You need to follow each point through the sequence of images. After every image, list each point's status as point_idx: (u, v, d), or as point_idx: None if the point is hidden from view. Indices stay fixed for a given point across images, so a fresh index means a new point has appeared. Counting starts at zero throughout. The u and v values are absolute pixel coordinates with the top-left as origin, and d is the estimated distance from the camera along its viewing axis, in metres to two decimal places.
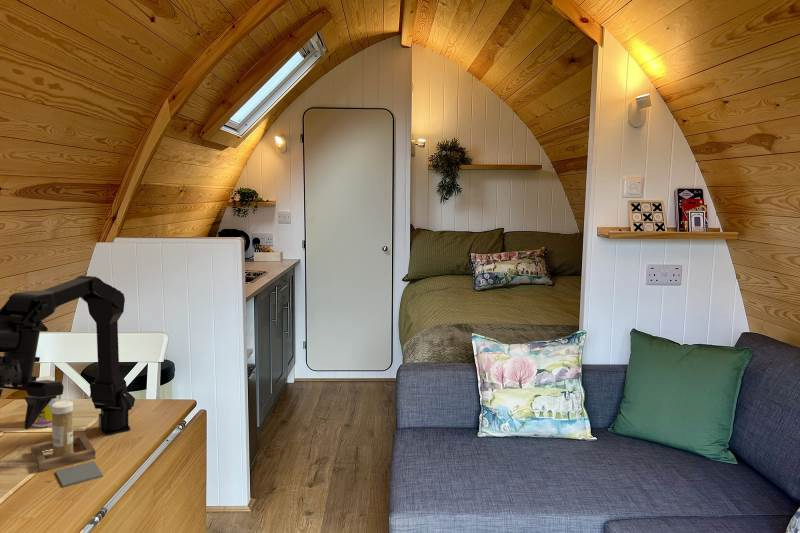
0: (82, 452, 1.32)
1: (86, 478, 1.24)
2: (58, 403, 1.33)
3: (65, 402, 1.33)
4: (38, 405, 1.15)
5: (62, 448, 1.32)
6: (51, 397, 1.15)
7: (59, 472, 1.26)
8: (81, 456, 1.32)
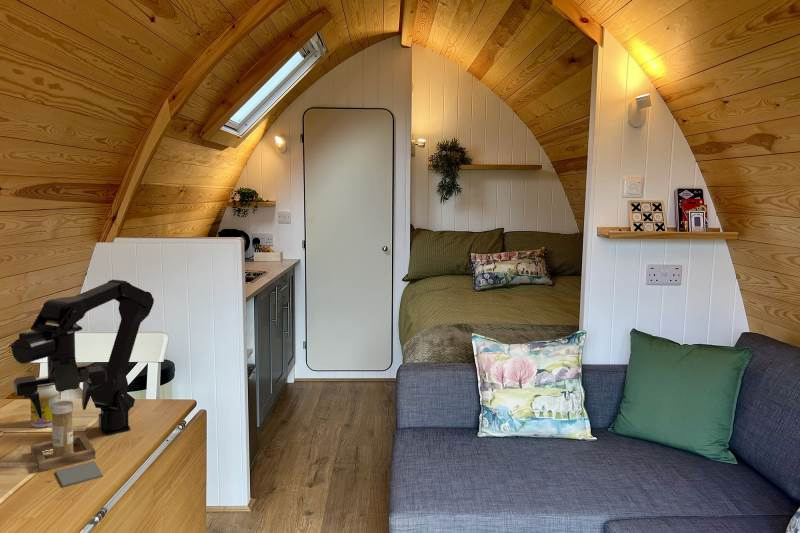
0: (82, 452, 1.32)
1: (86, 478, 1.24)
2: (58, 403, 1.33)
3: (65, 402, 1.33)
4: None
5: (62, 448, 1.32)
6: None
7: (59, 472, 1.26)
8: (81, 456, 1.32)
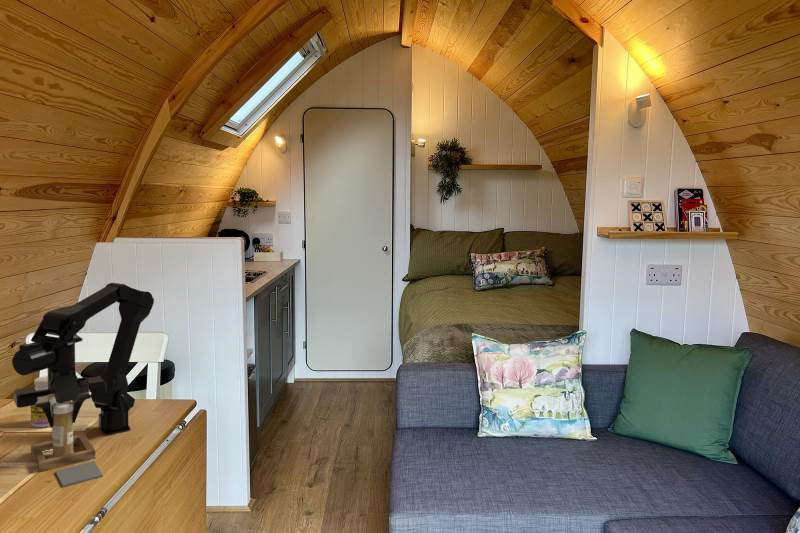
0: (82, 452, 1.32)
1: (86, 478, 1.24)
2: (58, 403, 1.33)
3: (65, 402, 1.33)
4: None
5: (62, 448, 1.32)
6: None
7: (59, 472, 1.26)
8: (81, 456, 1.32)
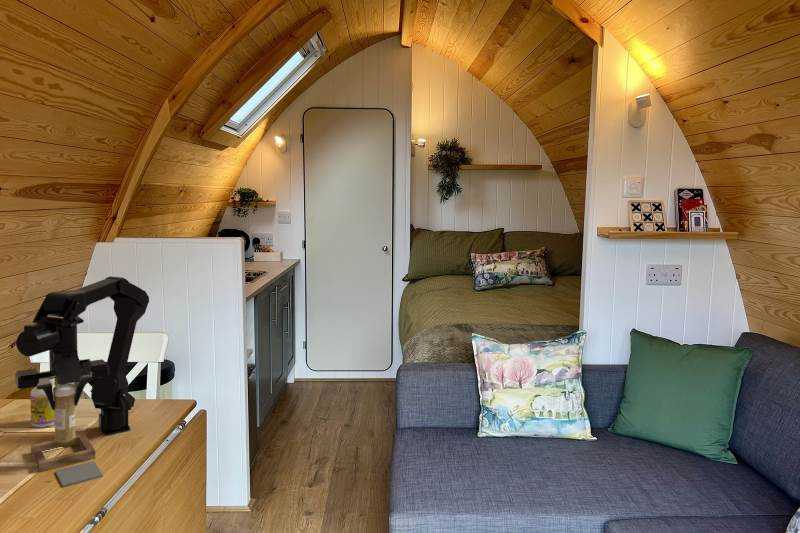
0: (82, 452, 1.32)
1: (86, 478, 1.24)
2: (60, 385, 1.31)
3: (67, 385, 1.31)
4: None
5: (64, 431, 1.30)
6: None
7: (59, 472, 1.26)
8: (81, 456, 1.32)
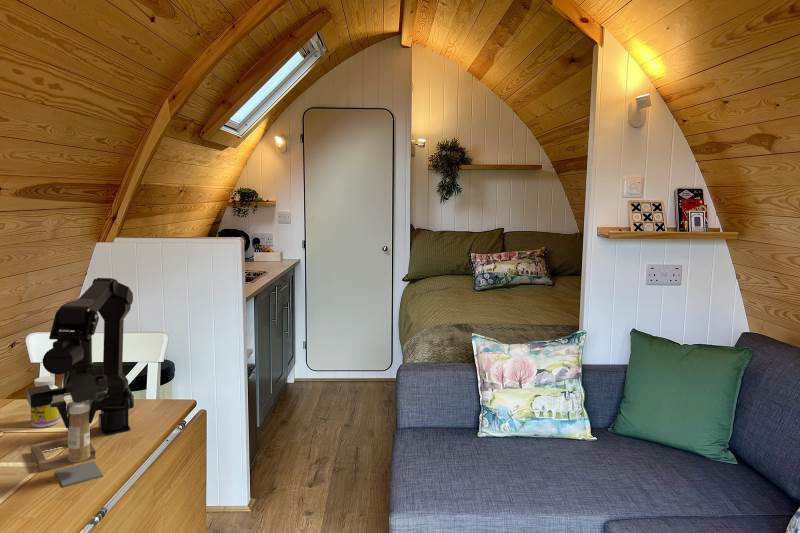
0: None
1: (86, 478, 1.24)
2: (74, 402, 1.24)
3: None
4: None
5: (79, 451, 1.24)
6: None
7: (59, 472, 1.26)
8: None
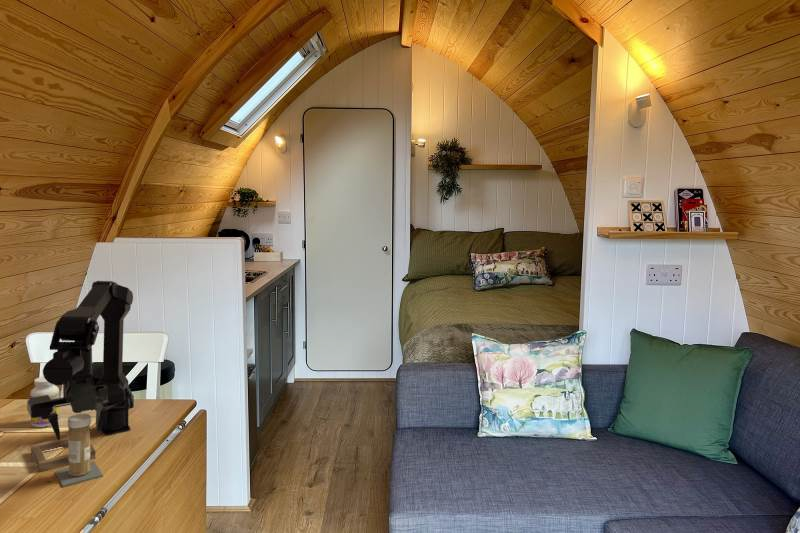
0: None
1: (86, 478, 1.24)
2: (75, 416, 1.25)
3: (82, 415, 1.26)
4: None
5: (79, 465, 1.24)
6: None
7: (59, 472, 1.26)
8: None
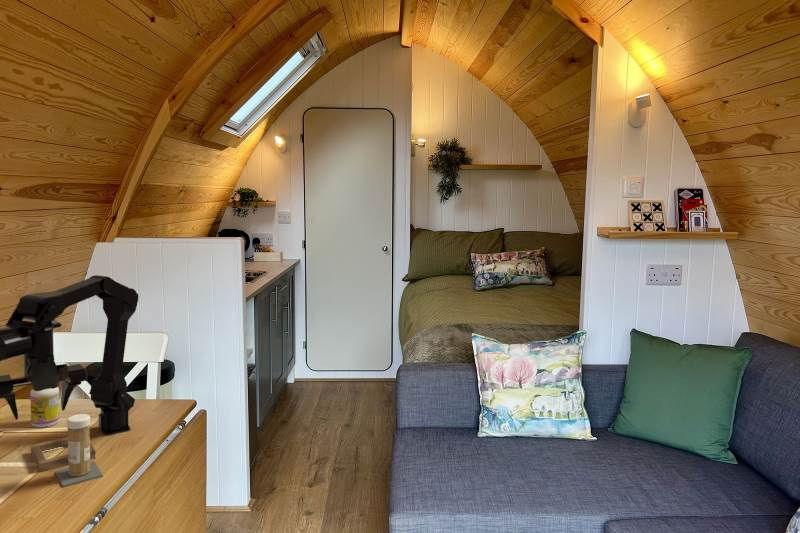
0: None
1: (86, 478, 1.24)
2: (74, 417, 1.24)
3: (82, 416, 1.25)
4: None
5: (79, 465, 1.24)
6: None
7: (59, 472, 1.26)
8: None
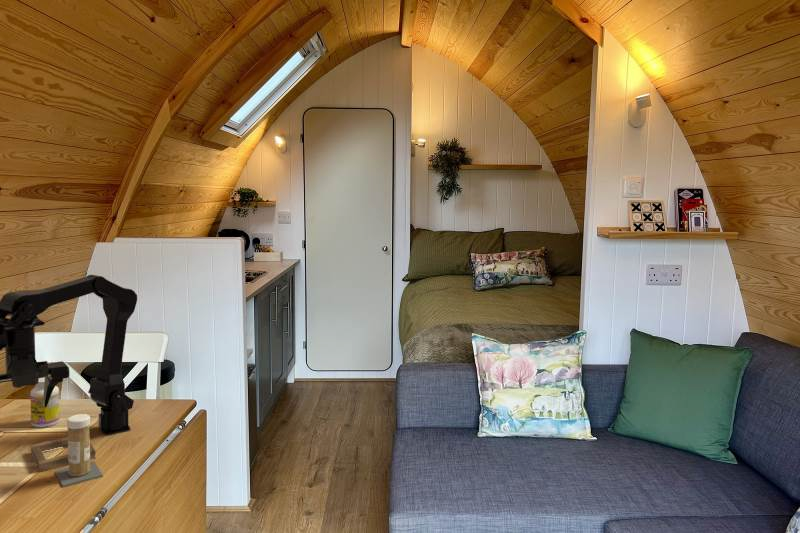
0: None
1: (86, 478, 1.24)
2: (74, 417, 1.24)
3: (82, 416, 1.25)
4: None
5: (79, 465, 1.24)
6: None
7: (59, 472, 1.26)
8: None
